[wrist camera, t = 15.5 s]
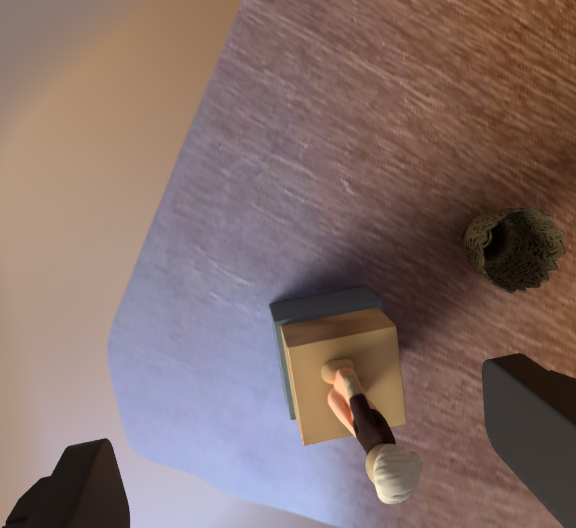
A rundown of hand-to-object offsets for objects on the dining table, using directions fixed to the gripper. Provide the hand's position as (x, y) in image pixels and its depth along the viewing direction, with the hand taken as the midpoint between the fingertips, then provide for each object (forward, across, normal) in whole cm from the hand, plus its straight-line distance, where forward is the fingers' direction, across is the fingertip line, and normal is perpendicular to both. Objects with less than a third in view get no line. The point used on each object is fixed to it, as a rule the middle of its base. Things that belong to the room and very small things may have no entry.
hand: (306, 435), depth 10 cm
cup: (+36, -23, +6) cm, 43 cm away
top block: (+31, -6, +14) cm, 35 cm away
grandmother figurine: (+26, -6, +14) cm, 30 cm away
